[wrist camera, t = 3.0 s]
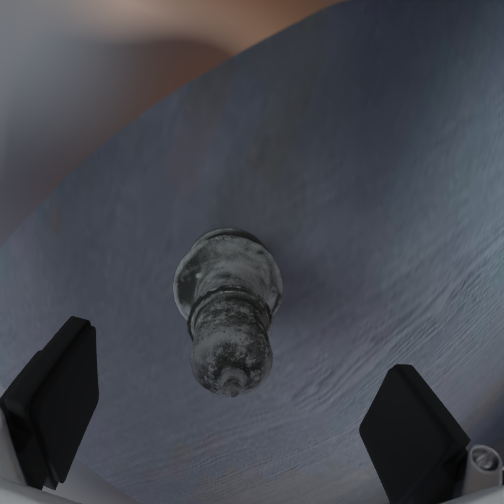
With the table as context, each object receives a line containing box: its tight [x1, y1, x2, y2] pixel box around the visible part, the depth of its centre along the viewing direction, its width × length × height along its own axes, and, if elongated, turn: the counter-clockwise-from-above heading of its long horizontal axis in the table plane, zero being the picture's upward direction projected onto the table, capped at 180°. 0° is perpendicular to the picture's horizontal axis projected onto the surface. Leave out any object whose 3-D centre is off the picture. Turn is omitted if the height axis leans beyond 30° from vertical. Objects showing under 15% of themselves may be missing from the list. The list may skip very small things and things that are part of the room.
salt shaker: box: [173, 228, 283, 397], centre depth 15 cm, size 6×6×12 cm
